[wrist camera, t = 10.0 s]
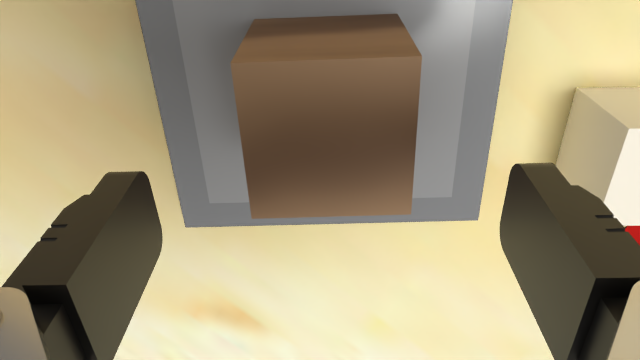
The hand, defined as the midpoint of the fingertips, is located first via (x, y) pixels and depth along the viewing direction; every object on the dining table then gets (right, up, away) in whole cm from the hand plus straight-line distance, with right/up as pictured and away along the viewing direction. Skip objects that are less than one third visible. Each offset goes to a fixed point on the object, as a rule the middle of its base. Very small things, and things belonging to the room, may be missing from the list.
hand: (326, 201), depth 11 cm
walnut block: (0, +4, +7) cm, 8 cm away
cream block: (+12, +2, +10) cm, 16 cm away
